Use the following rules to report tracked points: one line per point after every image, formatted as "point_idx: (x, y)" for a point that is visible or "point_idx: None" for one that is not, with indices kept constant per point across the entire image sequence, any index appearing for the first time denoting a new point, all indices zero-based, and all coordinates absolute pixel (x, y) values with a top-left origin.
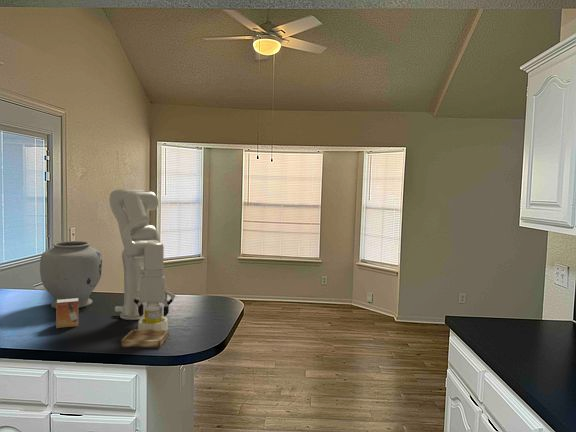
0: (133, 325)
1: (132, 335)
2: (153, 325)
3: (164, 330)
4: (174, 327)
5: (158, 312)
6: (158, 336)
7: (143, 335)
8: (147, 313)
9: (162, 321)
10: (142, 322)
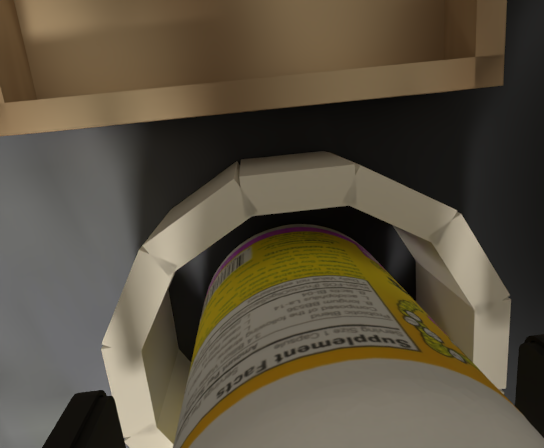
0: None
1: (447, 13)
2: (231, 180)
3: (32, 105)
4: None
5: (189, 414)
6: (113, 41)
7: (317, 55)
8: (415, 329)
9: None
10: None
